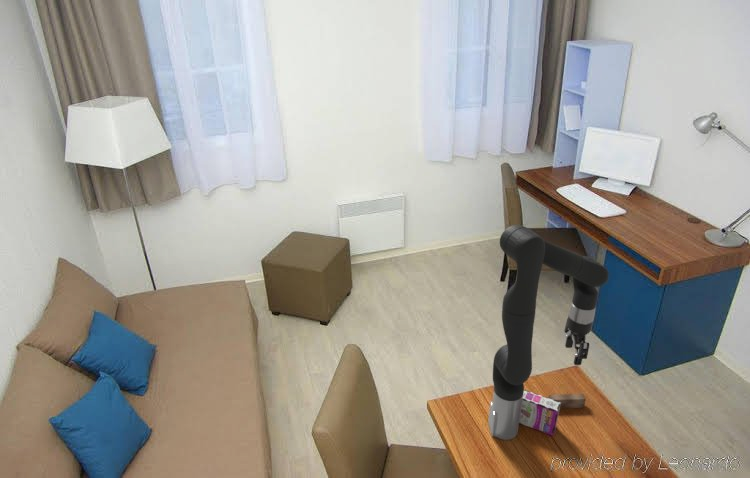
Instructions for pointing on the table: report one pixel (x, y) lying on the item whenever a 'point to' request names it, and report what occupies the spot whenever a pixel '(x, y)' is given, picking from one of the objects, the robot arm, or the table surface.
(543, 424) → the candy bar box
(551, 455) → the table surface
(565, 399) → the turner
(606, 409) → the table surface
